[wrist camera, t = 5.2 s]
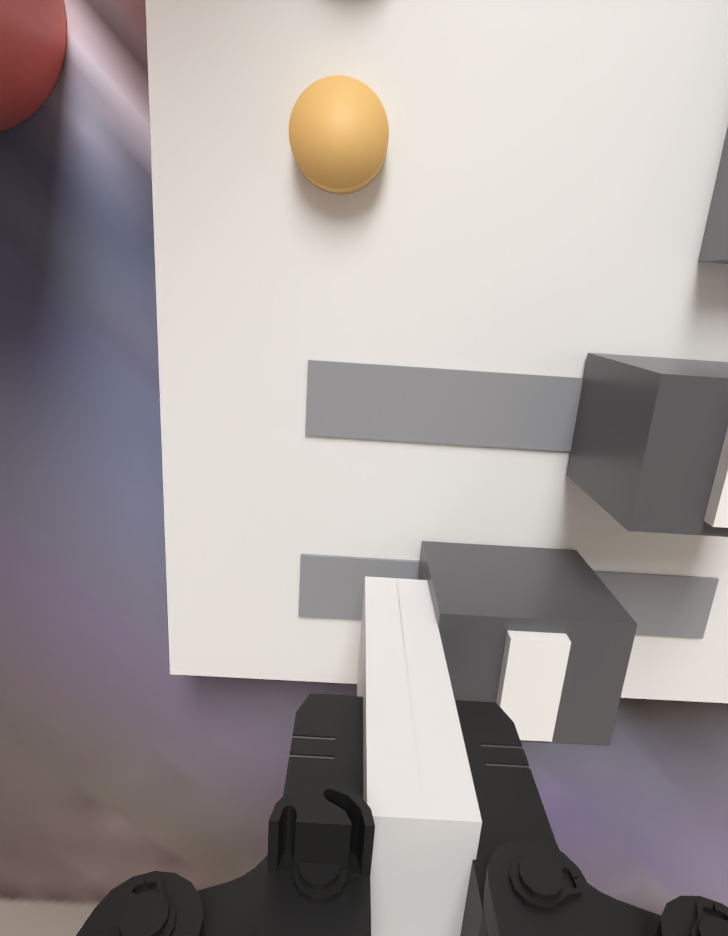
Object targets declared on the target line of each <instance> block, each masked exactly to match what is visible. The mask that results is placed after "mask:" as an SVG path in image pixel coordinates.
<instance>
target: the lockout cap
mask: <svg viewBox="0 0 728 936" xmlns="http://www.w3.org/2000/svg"><path fill="white" fill-rule="evenodd" d="M66 40H67V21H66V13H65V5H64V0H0V132H1V131H4V130H7V129H10V128H12V127H14V126H16V125H18V124H20V123H22V122H23V121H25V120H26V119H27V118H29V117H30V116H32V115H33V114H34V113H35V112H36V111H37V110H38V109H39V108H40V107H41V106H42V105H43V103H44V102H45V101H46V99H47V98H48V97H49V95H50V94H51V92H52V90H53V88H54V86H55V84H56V82H57V80H58V77H59V74H60V72H61V69H62V65H63V61H64V56H65V50H66Z"/></svg>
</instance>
